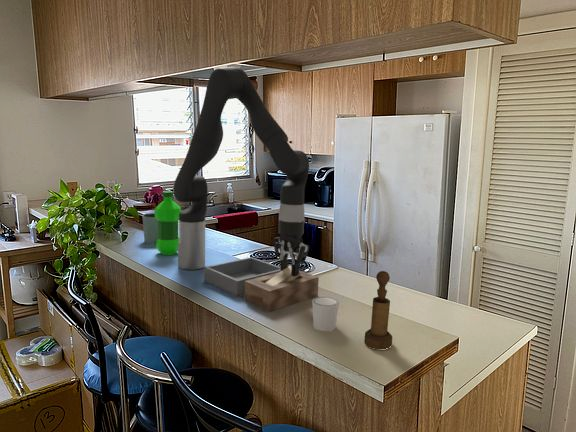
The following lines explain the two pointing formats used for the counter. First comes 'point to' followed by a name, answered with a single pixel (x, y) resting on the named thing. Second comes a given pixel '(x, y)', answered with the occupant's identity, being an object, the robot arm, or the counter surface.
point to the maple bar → (282, 277)
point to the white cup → (325, 313)
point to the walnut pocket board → (280, 291)
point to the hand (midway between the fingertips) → (289, 273)
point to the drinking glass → (150, 228)
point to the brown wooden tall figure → (379, 317)
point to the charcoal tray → (237, 274)
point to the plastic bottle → (167, 224)
